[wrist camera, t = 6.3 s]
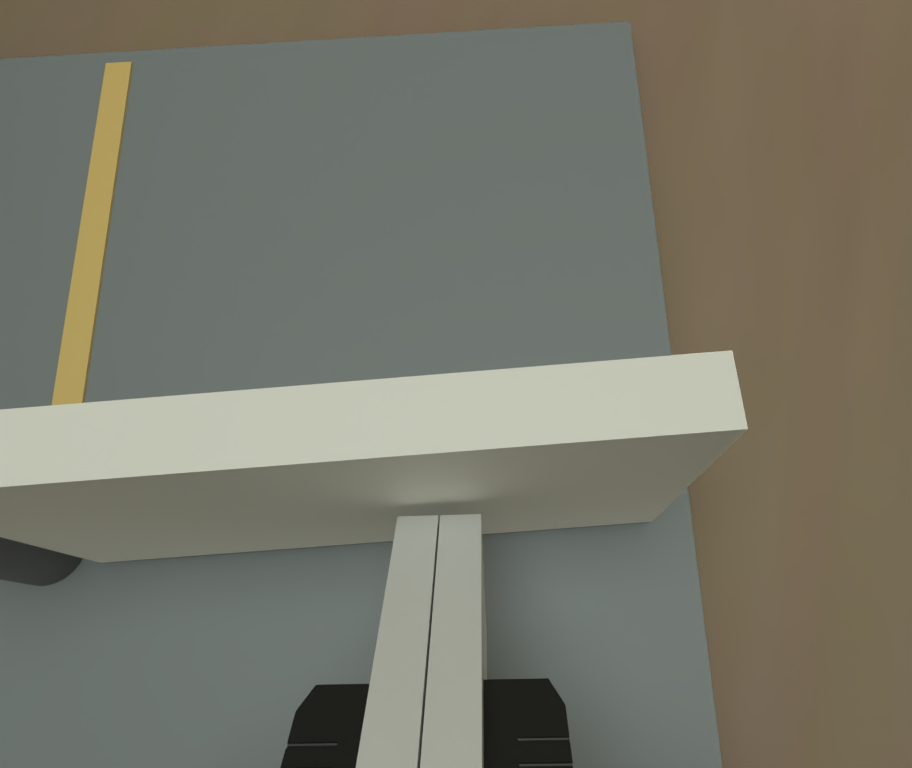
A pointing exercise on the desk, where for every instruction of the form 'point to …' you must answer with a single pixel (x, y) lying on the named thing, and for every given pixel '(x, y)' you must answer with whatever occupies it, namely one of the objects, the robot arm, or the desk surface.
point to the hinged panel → (365, 457)
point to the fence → (34, 564)
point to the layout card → (332, 364)
